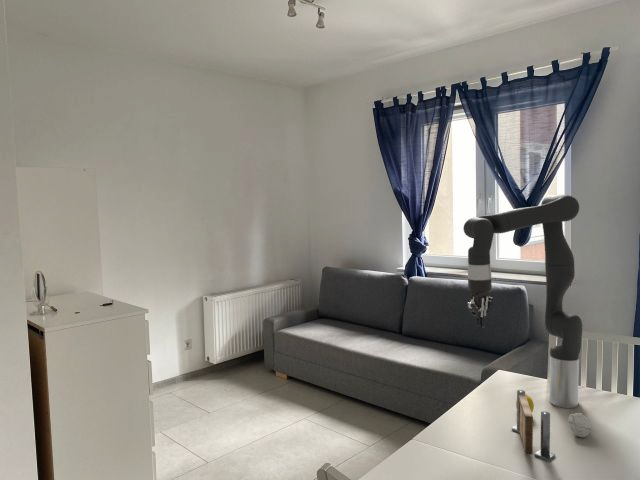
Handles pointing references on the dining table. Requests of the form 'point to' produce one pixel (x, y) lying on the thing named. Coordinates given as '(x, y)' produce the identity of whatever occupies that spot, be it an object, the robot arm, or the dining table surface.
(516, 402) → the lemon
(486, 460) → the dining table surface
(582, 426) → the white lumpy piece
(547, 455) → the grey upright posts
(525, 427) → the gate
